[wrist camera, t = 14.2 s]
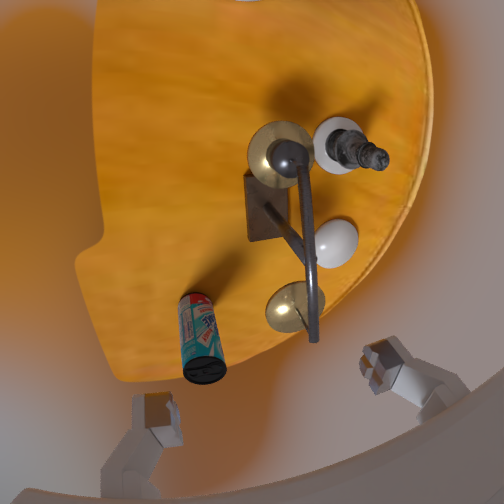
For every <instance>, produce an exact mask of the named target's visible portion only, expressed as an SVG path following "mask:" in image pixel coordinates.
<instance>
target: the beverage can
mask: <svg viewBox="0 0 504 504" xmlns="http://www.w3.org/2000/svg"><path fill="white" fill-rule="evenodd" d="M178 316H179V332H180V345H181V357H182V366H183V375H184V377H185V378H186V379H187V380H188V381H189V382H191V383H194V384H199V385H206V384H211V383H215V382H217V381H219V380H220V379H222V378H223V377H224V375H225V374H226V371H227V368H226V364H225V359H224V355H223V350H222V346H221V342H220V337H219V333H218V328H217V324H216V319H215V315H214V310H213V305H212V302H211V300H210V299H209V298H208V297H207V296H206V295H204V294H201V293H190V294H187V295H185V296H184V297H183V298H182V299H181V300H180V302H179V305H178Z"/></svg>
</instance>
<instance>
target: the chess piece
mask: <svg viewBox="0 0 504 504" xmlns="http://www.w3.org/2000/svg"><path fill="white" fill-rule="evenodd" d="M325 150H326V153H327V155H328V156H329V158H331V159H332V160H333V161H335V162H338V163H339V164H340V165H341V166H342V167H344V168H346V169H350V170H351V169H356V168H359V167H360V166H361V167H363V168H372V169H374V170H376V171H383V170H384V169H386V168H387V166H388V165H389V160H390V159H389V155H388V153H387V152H386V151H385V150H384V149H381V148H378V147H376V146H375V144H373V143H372V142H368V140H367V138H366V136H365V135H364V134H363V133H362V132H360V131H358V130H346V129H336V130H334V131H332V132H331V133H330V134H329V135H328V137H327V139H326V143H325Z"/></svg>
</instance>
